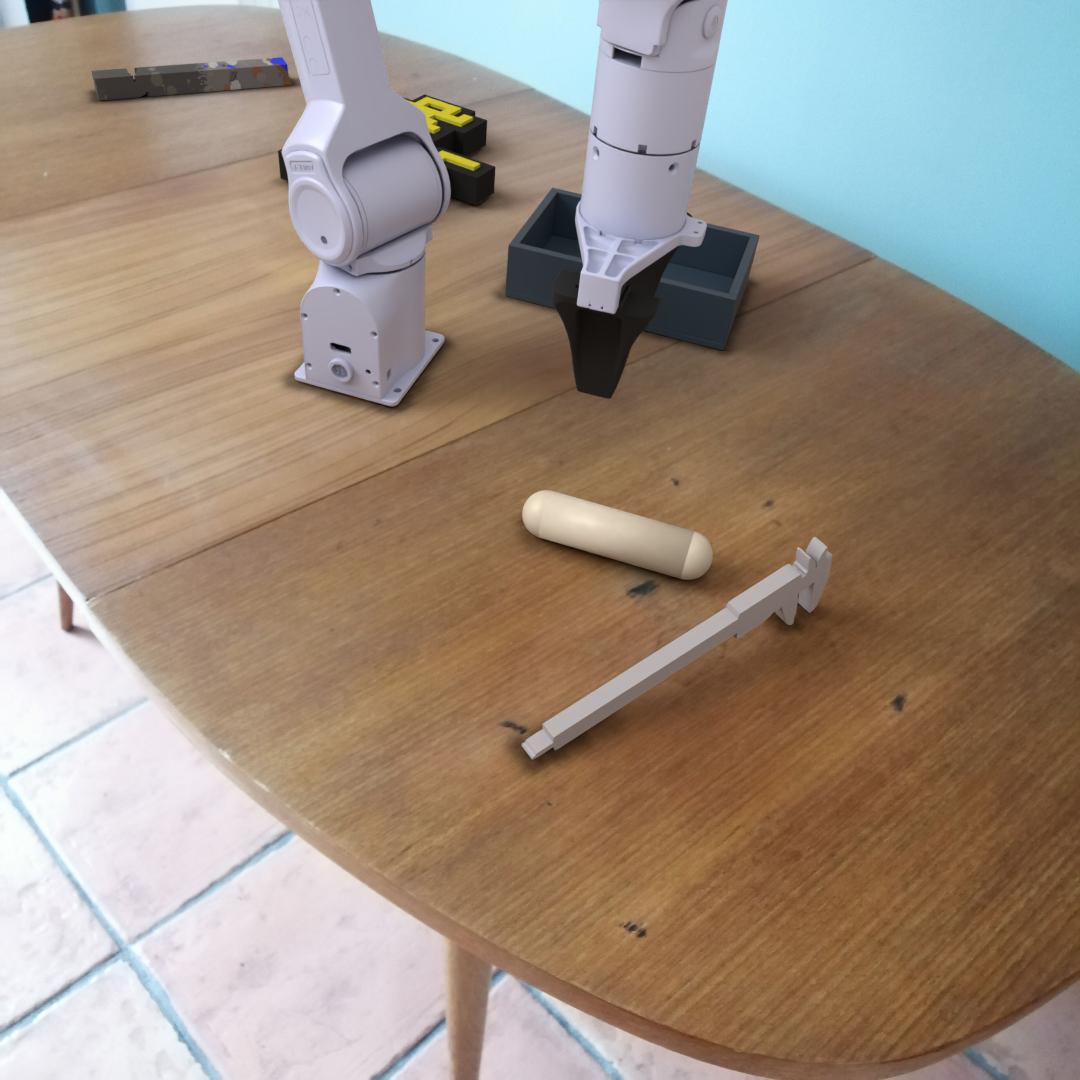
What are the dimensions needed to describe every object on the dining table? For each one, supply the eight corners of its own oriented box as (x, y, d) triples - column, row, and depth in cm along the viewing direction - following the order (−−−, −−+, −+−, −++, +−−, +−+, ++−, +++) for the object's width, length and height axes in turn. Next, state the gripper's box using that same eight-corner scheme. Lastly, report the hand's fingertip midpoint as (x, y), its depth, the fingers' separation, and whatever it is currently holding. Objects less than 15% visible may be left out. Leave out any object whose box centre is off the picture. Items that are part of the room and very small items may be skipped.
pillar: (91, 70, 103) (285, 57, 110) (96, 92, 104) (286, 77, 112) (94, 78, 102) (290, 64, 109) (99, 100, 103) (292, 84, 110)
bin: (723, 350, 80) (735, 299, 77) (504, 296, 83) (508, 244, 80) (747, 283, 88) (759, 234, 84) (547, 235, 91) (552, 187, 88)
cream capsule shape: (702, 595, 60) (712, 561, 58) (514, 540, 62) (517, 504, 60) (711, 563, 62) (721, 528, 60) (529, 510, 65) (533, 475, 62)
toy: (268, 144, 92) (399, 83, 105) (272, 178, 94) (399, 114, 107) (430, 203, 86) (547, 131, 99) (429, 238, 89) (544, 163, 101)
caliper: (801, 601, 61) (831, 526, 56) (814, 613, 60) (845, 538, 56) (520, 748, 52) (530, 672, 47) (532, 764, 51) (543, 688, 47)
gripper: (697, 208, 45) (650, 443, 55) (743, 98, 56) (696, 312, 65) (548, 177, 47) (527, 412, 56) (619, 74, 57) (591, 288, 66)
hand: (610, 357), depth 61 cm, fingers open, 7 cm apart
